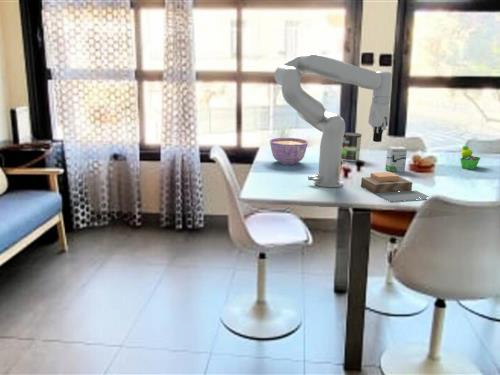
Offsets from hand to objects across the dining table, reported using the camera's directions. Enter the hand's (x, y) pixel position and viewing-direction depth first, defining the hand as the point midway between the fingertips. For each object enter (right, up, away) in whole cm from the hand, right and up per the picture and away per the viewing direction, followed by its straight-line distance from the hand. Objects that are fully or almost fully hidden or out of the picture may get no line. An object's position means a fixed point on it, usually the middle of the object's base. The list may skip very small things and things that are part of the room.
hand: (377, 141), depth 233 cm
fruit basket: (+58, -10, +40) cm, 71 cm away
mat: (+7, -25, -16) cm, 30 cm away
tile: (+2, -17, -4) cm, 18 cm away
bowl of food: (-37, -8, +40) cm, 55 cm away
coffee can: (-2, -6, +52) cm, 52 cm away
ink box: (+16, -12, +29) cm, 36 cm away
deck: (+3, -21, -5) cm, 22 cm away
